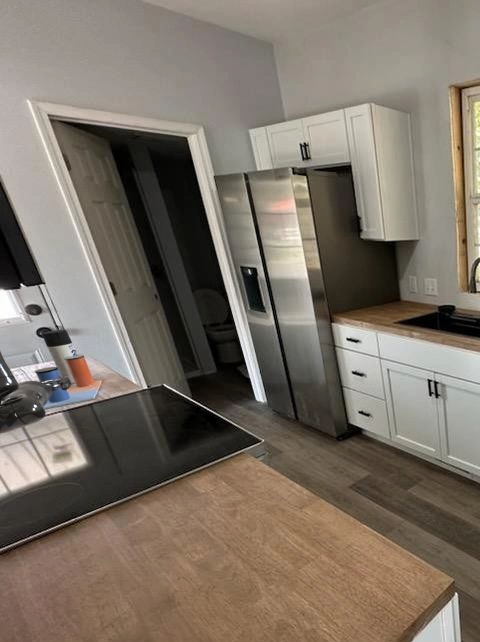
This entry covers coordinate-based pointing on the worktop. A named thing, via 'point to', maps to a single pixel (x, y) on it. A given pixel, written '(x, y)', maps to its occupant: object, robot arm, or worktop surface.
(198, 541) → the worktop surface
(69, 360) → the terracotta canister
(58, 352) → the spray can
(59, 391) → the blue canister
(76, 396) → the sorting board
